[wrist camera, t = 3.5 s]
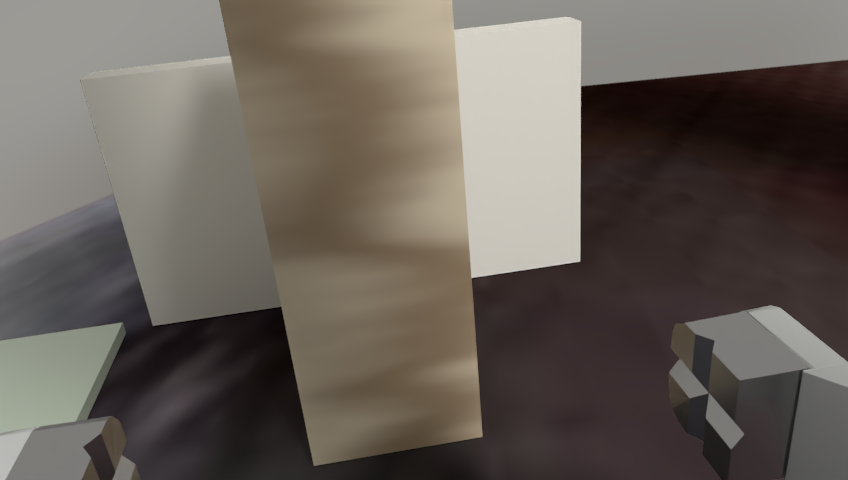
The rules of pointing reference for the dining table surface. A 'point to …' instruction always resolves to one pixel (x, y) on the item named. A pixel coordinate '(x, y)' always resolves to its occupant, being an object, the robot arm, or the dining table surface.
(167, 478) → the dining table surface
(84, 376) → the pad
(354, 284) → the marked block
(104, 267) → the dining table surface
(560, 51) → the upright white panel
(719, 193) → the dining table surface
